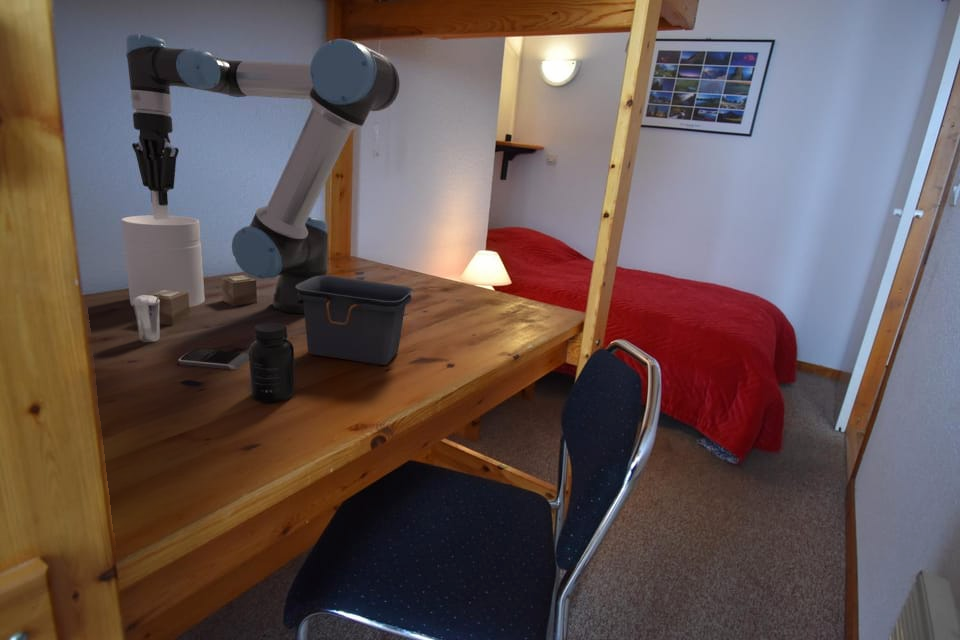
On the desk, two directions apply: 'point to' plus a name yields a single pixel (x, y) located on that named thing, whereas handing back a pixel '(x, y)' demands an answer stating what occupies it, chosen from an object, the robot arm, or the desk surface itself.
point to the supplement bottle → (271, 364)
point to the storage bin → (353, 318)
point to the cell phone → (214, 359)
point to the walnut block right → (239, 290)
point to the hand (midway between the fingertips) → (161, 218)
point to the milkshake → (147, 317)
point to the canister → (163, 256)
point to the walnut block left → (173, 306)
